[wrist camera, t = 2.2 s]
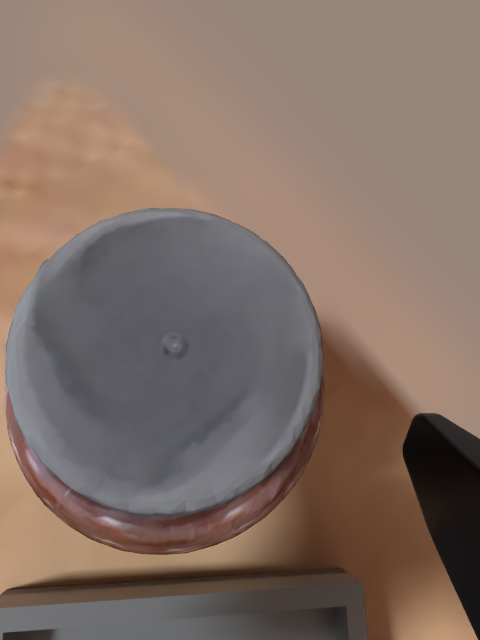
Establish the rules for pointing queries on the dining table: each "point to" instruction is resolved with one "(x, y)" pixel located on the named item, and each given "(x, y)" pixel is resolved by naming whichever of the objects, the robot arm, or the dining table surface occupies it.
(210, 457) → the supplement bottle
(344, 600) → the tray
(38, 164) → the dining table surface
